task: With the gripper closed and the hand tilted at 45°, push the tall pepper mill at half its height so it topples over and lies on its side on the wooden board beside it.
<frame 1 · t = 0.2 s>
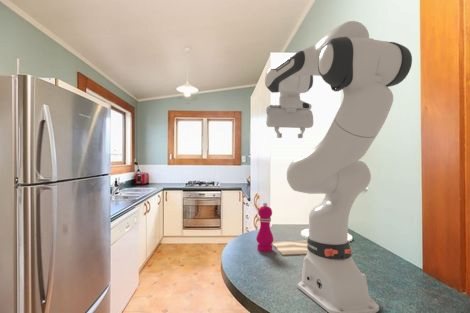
hand: (289, 137, 109), 48 cm above the worktop, tool pointing down, fingers open, 8 cm apart
dish: (325, 237, 131), on the worktop
wooden board: (297, 248, 111), on the worktop
pepper mill: (264, 249, 109), on the worktop
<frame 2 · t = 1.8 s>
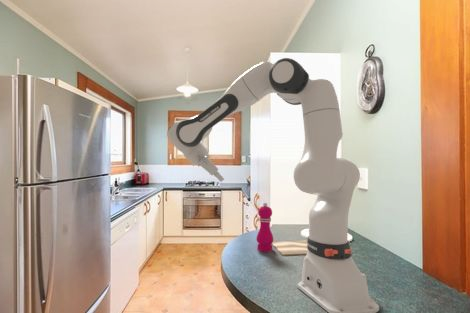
hand: (221, 179, 107), 30 cm above the worktop, tool tilted 45°, fingers open, 8 cm apart
nothing on the worktop moved.
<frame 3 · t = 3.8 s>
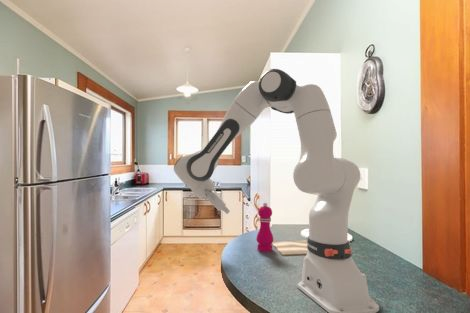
hand: (228, 212, 107), 16 cm above the worktop, tool tilted 45°, fingers closed
nothing on the worktop moved.
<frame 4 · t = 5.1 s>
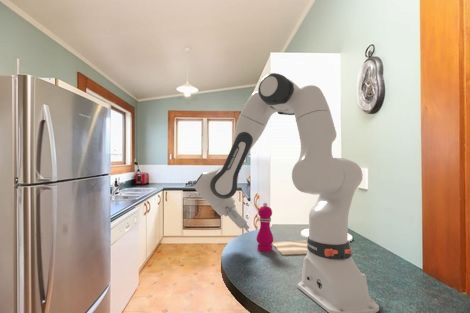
hand: (247, 228, 108), 9 cm above the worktop, tool tilted 45°, fingers closed
nothing on the worktop moved.
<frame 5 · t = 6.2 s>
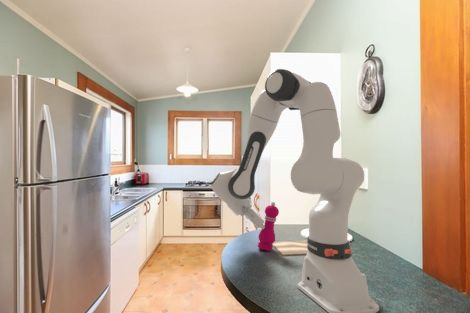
hand: (263, 227, 109), 9 cm above the worktop, tool tilted 45°, fingers closed, pressing on pepper mill
pepper mill: (264, 248, 109), on the worktop, touching gripper
everything else where it was.
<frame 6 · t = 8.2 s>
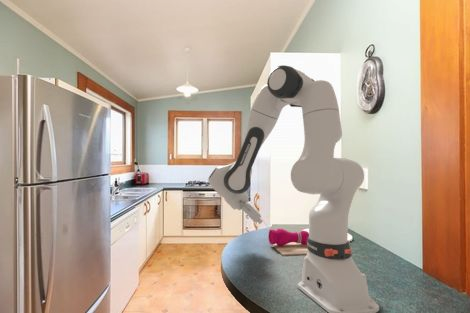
hand: (260, 221, 109), 12 cm above the worktop, tool tilted 45°, fingers closed
pepper mill: (270, 236, 112), point 4 cm above the worktop, touching wooden board
everything else where it was.
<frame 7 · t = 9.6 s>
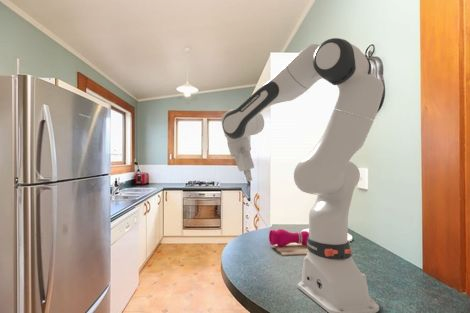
hand: (249, 180, 105), 30 cm above the worktop, tool tilted 20°, fingers closed
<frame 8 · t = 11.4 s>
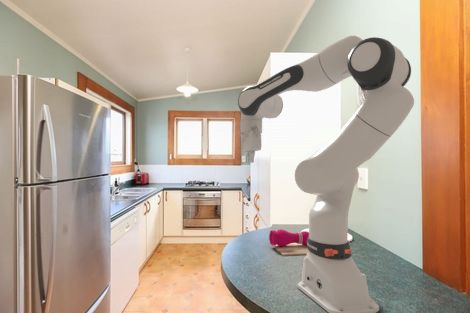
hand: (250, 162, 103), 37 cm above the worktop, tool pointing down, fingers closed
at the end: pepper mill tilted 93°; pepper mill touching wooden board; the gripper is holding nothing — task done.
